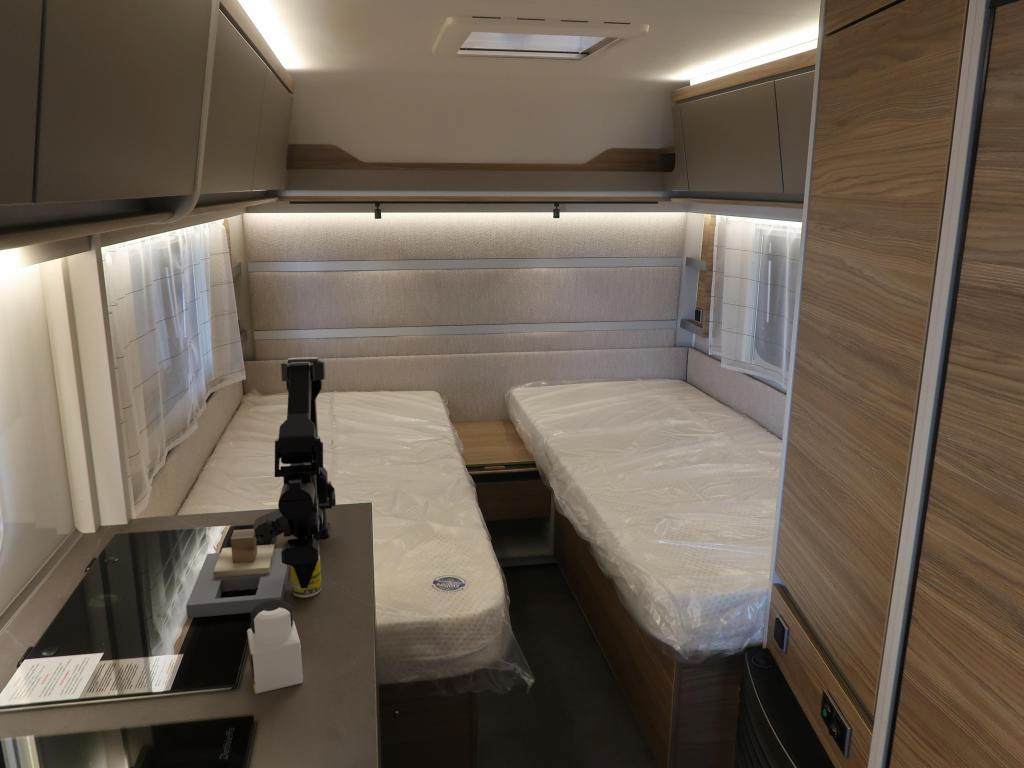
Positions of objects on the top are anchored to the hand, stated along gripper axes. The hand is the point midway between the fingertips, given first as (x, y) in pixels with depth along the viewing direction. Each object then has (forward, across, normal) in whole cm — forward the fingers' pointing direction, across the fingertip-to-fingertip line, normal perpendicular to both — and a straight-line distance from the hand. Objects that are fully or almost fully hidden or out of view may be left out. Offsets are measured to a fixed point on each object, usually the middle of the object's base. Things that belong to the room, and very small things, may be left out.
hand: (306, 575), depth 145 cm
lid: (+1, -8, -12) cm, 15 cm away
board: (+3, -4, -12) cm, 13 cm away
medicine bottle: (+3, +26, -3) cm, 26 cm away
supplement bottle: (+3, 0, 0) cm, 3 cm away
